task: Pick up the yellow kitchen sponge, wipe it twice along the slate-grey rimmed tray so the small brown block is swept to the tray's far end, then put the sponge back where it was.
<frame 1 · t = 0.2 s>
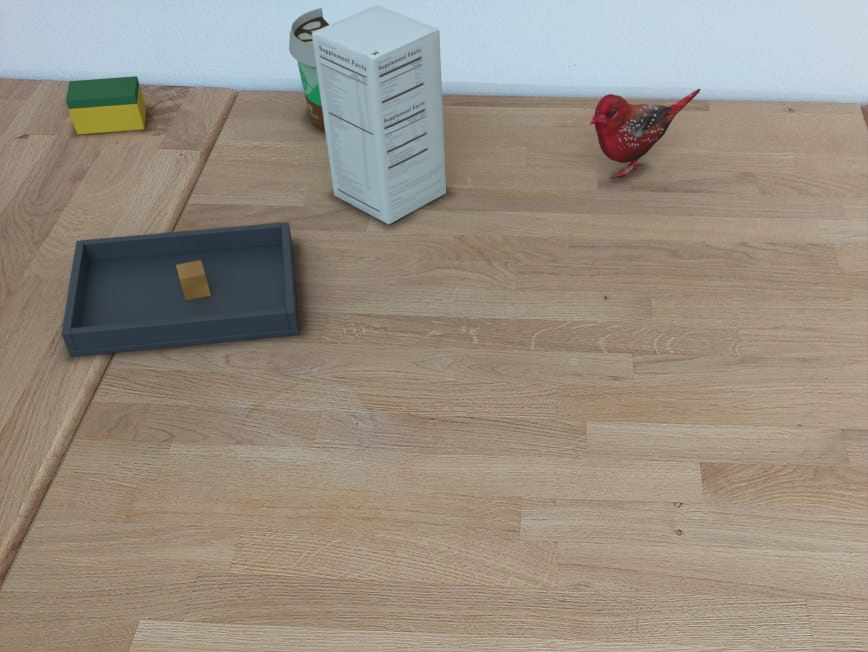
supplement box: (390, 196, 108), on the table
decorative bird figurine: (638, 170, 111), on the table
sponge: (112, 122, 118), on the table
small brown block: (196, 291, 96), point 1 cm above the table, touching tray
tray: (187, 297, 97), on the table
food container: (326, 122, 118), on the table
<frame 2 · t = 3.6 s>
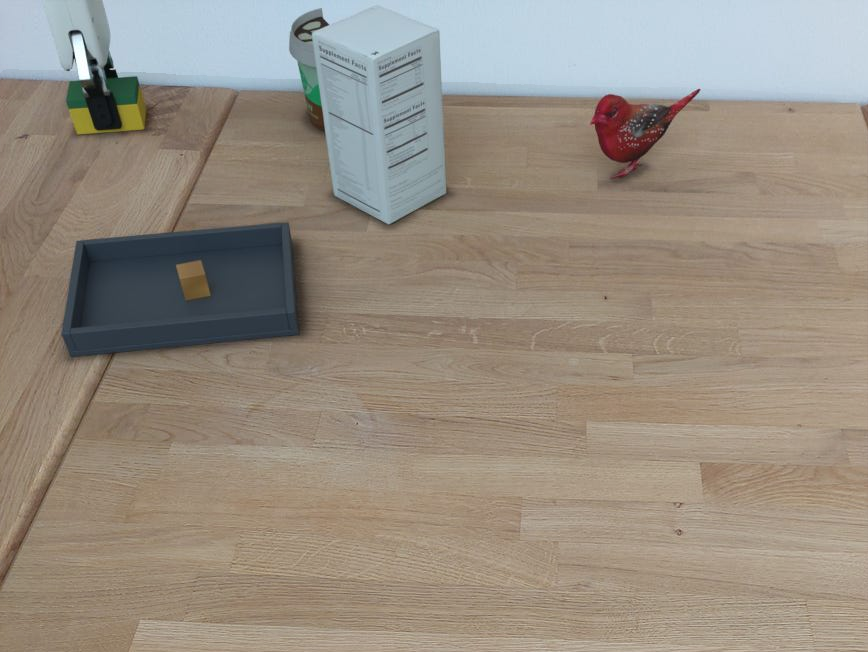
hand: (110, 115, 117), 1 cm above the table, tool pointing down, fingers closed on sponge, 5 cm apart
sponge: (112, 122, 118), on the table, touching gripper
everything else where it was.
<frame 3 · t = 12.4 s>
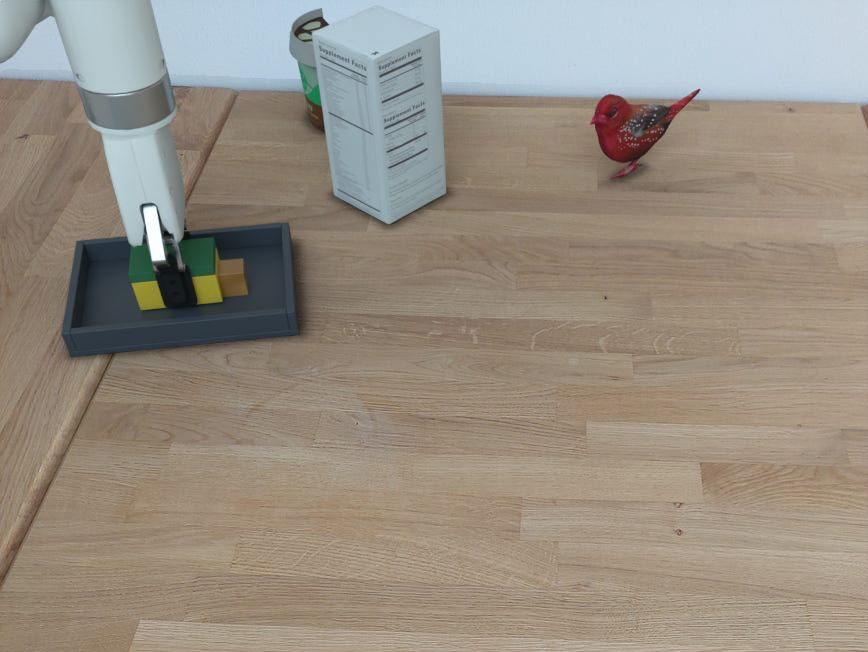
hand: (182, 285, 96), 1 cm above the table, tool pointing down, fingers closed on sponge, 5 cm apart
sponge: (182, 291, 96), point 1 cm above the table, touching small brown block, gripper
small brown block: (235, 288, 97), point 1 cm above the table, touching sponge
everything else where it was.
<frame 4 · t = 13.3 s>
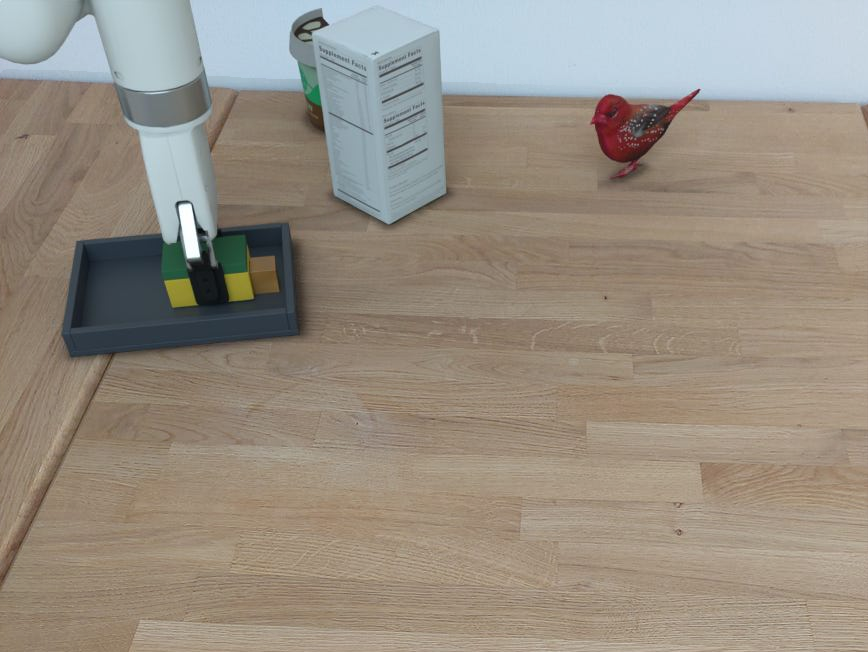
hand: (213, 283, 96), 1 cm above the table, tool pointing down, fingers closed on sponge, 5 cm apart
sponge: (213, 289, 97), point 1 cm above the table, touching gripper
small brown block: (266, 286, 97), point 1 cm above the table, touching tray
everything else where it was.
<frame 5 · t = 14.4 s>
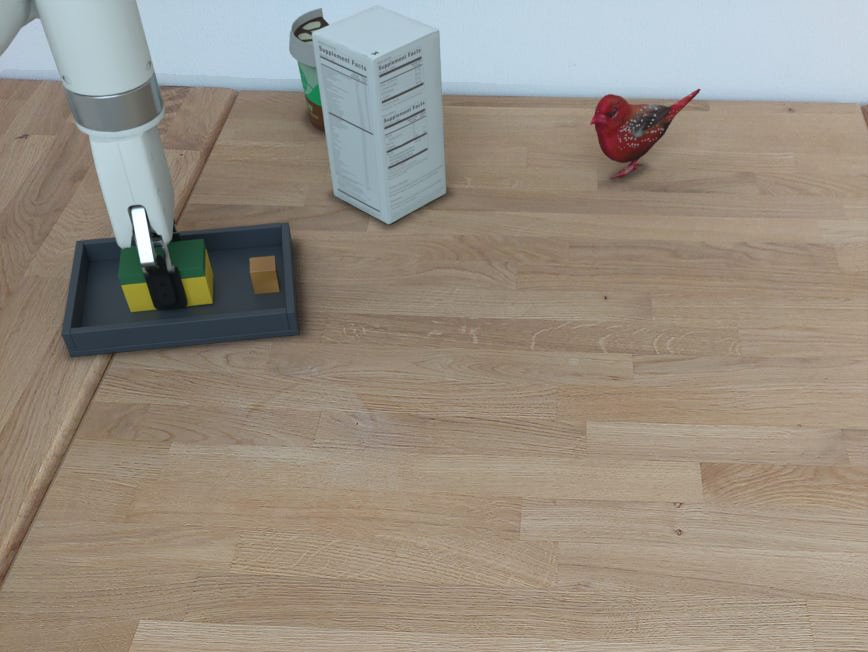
hand: (172, 287, 96), 1 cm above the table, tool pointing down, fingers closed on sponge, 5 cm apart
sponge: (172, 293, 96), point 1 cm above the table, touching gripper
everything else where it was.
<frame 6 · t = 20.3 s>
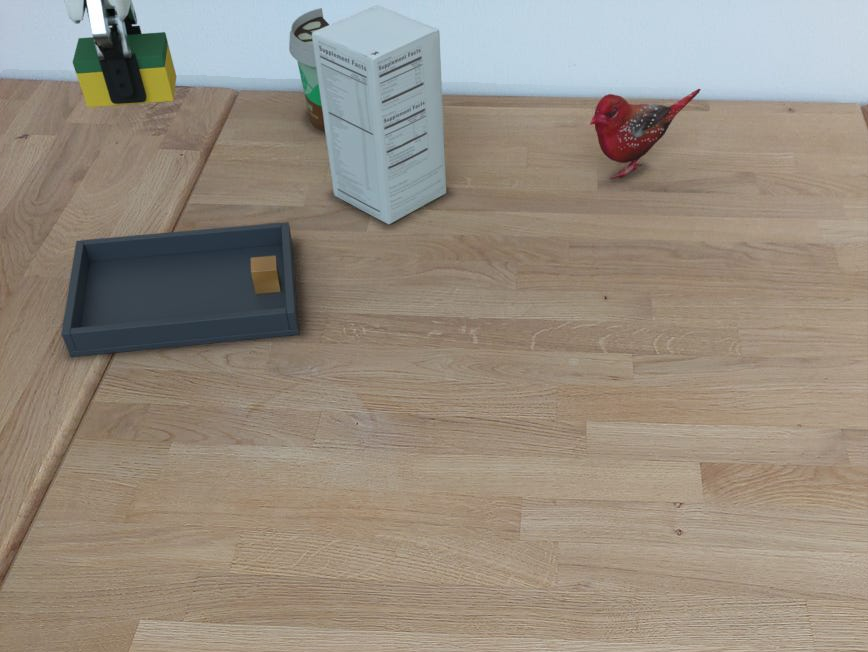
hand: (131, 85, 91), 15 cm above the table, tool pointing down, fingers closed on sponge, 5 cm apart
sponge: (132, 92, 92), point 15 cm above the table, touching gripper
everything else where it was.
when the fingers open (1 cm above the table, at t = 25.5 s): sponge stays where it is, on the table.
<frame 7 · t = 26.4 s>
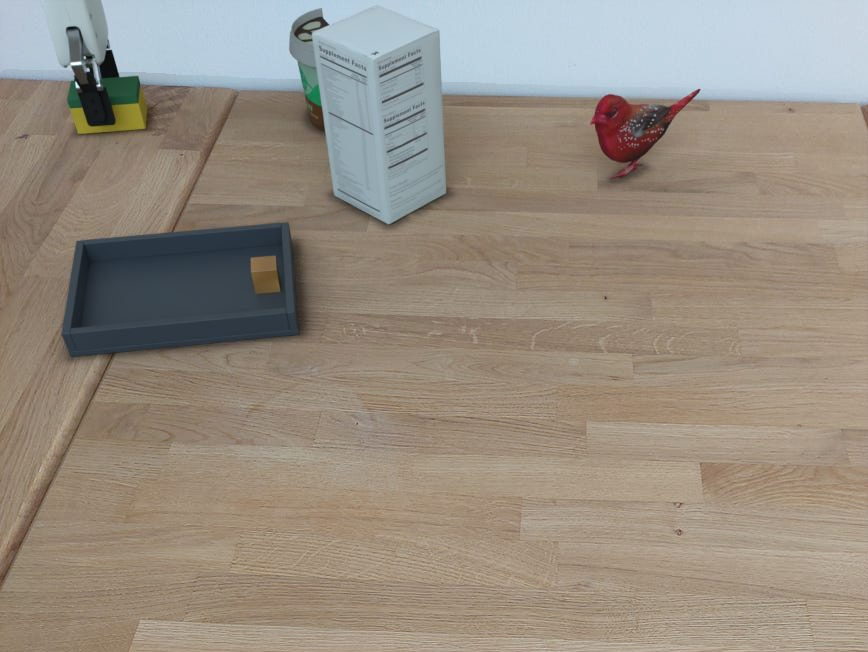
hand: (105, 105, 116), 2 cm above the table, tool pointing down, fingers open, 9 cm apart
sponge: (113, 121, 118), on the table
everything else where it was.
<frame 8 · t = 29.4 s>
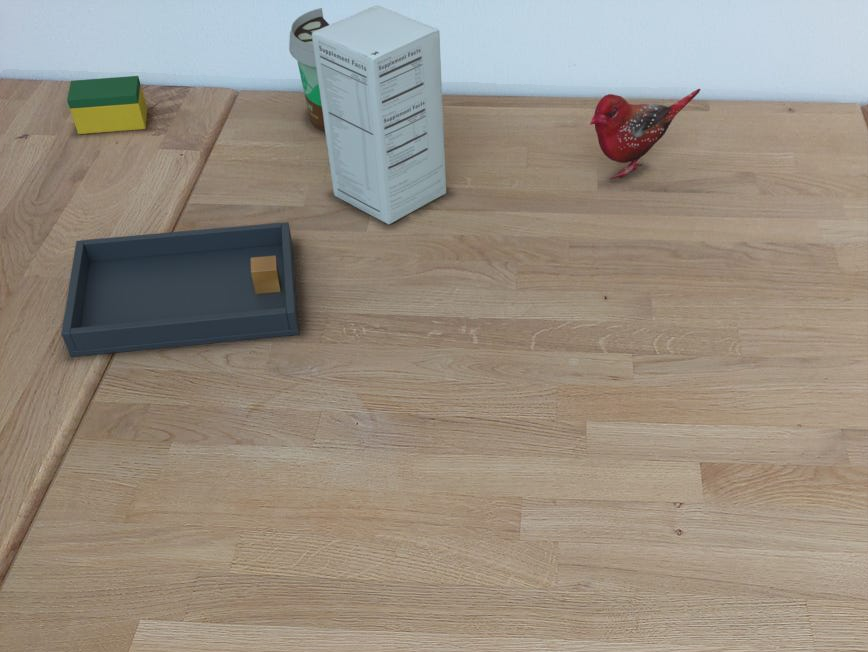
nothing on the table moved.
at the end: small brown block inside the target area in the tray (0.4 cm from its centre), point 0.6 cm above the tray's base; sponge inside the target area (0.1 cm from its centre), on the table; sponge tilted 0° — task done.
